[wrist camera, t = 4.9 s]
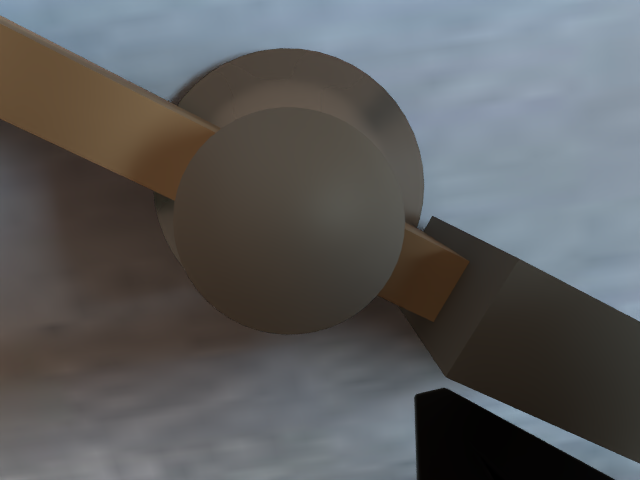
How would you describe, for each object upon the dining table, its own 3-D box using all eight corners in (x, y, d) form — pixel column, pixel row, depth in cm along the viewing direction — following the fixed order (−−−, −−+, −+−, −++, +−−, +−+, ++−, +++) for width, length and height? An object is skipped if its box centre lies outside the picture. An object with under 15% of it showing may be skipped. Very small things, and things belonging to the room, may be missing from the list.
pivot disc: (434, 286, 10) (438, 290, 10) (197, 336, 10) (194, 342, 10) (400, 27, 8) (403, 22, 8) (122, 81, 8) (116, 78, 8)
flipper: (648, 304, 10) (914, 423, 6) (579, 402, 10) (775, 578, 6) (-381, -244, 6) (-1735, -1027, 2) (-406, -53, 7) (-1525, -371, 3)
